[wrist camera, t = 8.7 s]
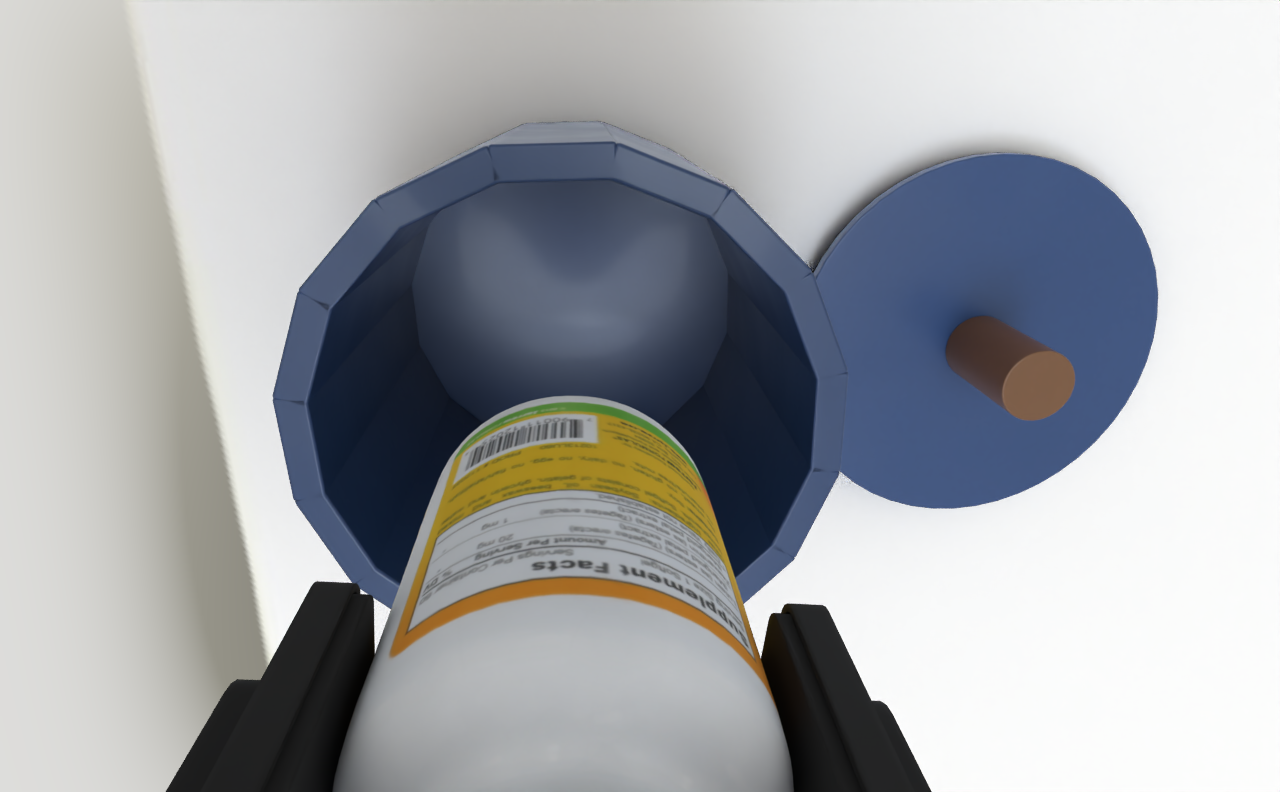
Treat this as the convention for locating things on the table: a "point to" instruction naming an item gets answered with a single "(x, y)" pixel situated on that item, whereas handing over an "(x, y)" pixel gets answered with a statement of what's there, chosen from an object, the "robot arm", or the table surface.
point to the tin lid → (985, 326)
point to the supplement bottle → (567, 625)
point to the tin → (559, 340)
